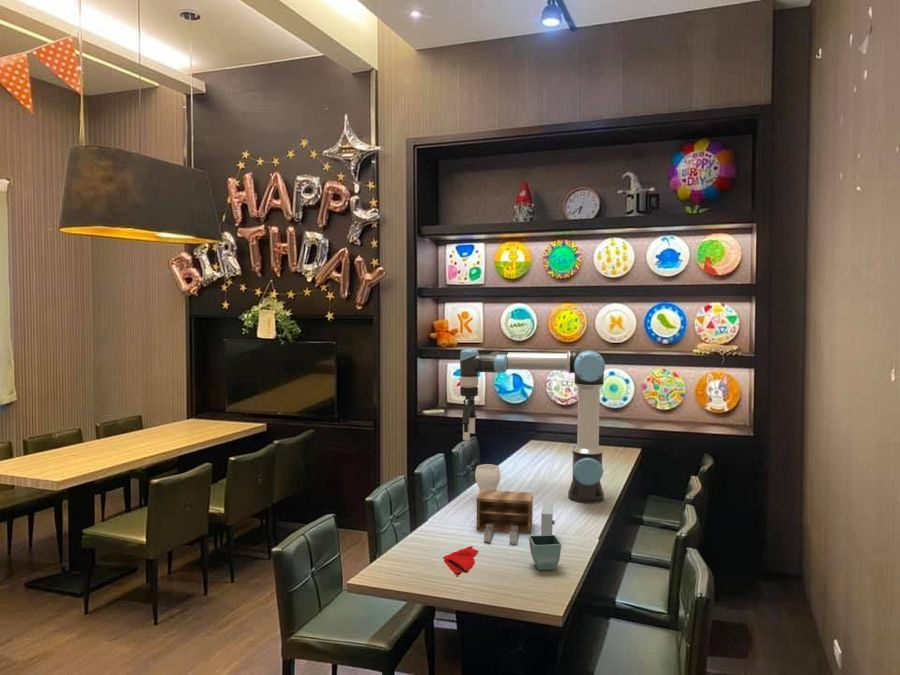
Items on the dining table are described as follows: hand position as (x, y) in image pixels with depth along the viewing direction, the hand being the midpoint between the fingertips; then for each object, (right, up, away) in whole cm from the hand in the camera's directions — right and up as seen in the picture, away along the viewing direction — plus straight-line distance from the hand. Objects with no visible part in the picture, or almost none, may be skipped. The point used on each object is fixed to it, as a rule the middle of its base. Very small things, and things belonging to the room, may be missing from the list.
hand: (469, 436), depth 277 cm
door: (+26, -31, -44) cm, 60 cm away
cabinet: (+13, -30, -29) cm, 44 cm away
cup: (+8, -28, +1) cm, 29 cm away
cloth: (-4, -32, -61) cm, 69 cm away
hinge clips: (+11, -30, -41) cm, 52 cm away
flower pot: (+22, -32, -67) cm, 77 cm away
